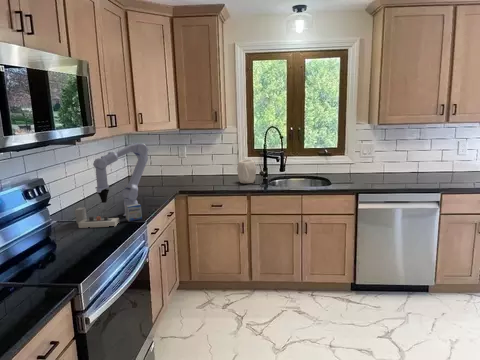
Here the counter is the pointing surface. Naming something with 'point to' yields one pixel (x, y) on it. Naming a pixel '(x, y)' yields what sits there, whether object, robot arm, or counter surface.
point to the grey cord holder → (80, 214)
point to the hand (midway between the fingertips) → (104, 202)
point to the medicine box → (133, 212)
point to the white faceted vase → (246, 171)
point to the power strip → (98, 223)
